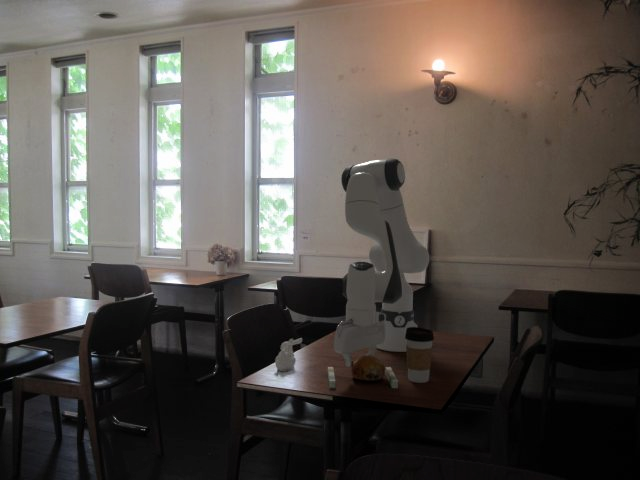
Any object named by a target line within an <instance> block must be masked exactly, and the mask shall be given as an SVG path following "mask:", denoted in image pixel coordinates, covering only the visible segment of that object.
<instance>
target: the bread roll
mask: <svg viewBox="0 0 640 480" xmlns="http://www.w3.org/2000/svg"><path fill="white" fill-rule="evenodd" d="M385 369H386V367H385V365H384V363H383V362H382V360H381V359H379V358H377V357H376V356H375V355H374V356H370V355H367V356H366V355H361V356H359V357H358V358H357V359H356V360H355V361H353V366H351V377H352V378H354V379H356V380H360V381H379V380H381V379H383V378H384V376H386V374H385Z"/></svg>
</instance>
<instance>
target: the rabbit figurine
mask: <svg viewBox="0 0 640 480" xmlns="http://www.w3.org/2000/svg"><path fill="white" fill-rule="evenodd" d="M302 342H303V338H302V337H300V338H297V339H294V338H290V339H289V340H288V341H284V342H282V343H281V345H280V351H279V352H278V355H277V356H276V357H275V359H274V363H275V367H276V370H277V371H280V372H290V371H292V370H294V369H295V366H296V365H295V364H296V358H295V354H294V350H293V346H294V345H299V344H301V343H302Z"/></svg>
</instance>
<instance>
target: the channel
mask: <svg viewBox="0 0 640 480" xmlns="http://www.w3.org/2000/svg"><path fill="white" fill-rule="evenodd" d="M385 376H386V378H387V380H388V383H389V384H390V387H391V389H399V380H398V378H397V377H396V375H395V373H394V371H393V369H392V367H391V366H385ZM327 378H328V386H329V389H335V388H336V377H335V370H334V367H333V366H327Z"/></svg>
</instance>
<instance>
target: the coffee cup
mask: <svg viewBox="0 0 640 480" xmlns="http://www.w3.org/2000/svg"><path fill="white" fill-rule="evenodd" d="M405 339H406V341H407V345H406V352H405V353H406V365H407V376H408V377H407V379H408V381H410V382H412V383H416V384H417V383H419V384H421V383H422V384H423V383H424V384H425V383H427V382H429V379H430V372H431V371H430V370H431V364H432V356H433V348H434V347H433V341H434V340H435V336H434V331H432V330H431V329H427V328H423V327H418V326H417V327H409V328H407V329H406V335H405Z"/></svg>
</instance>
